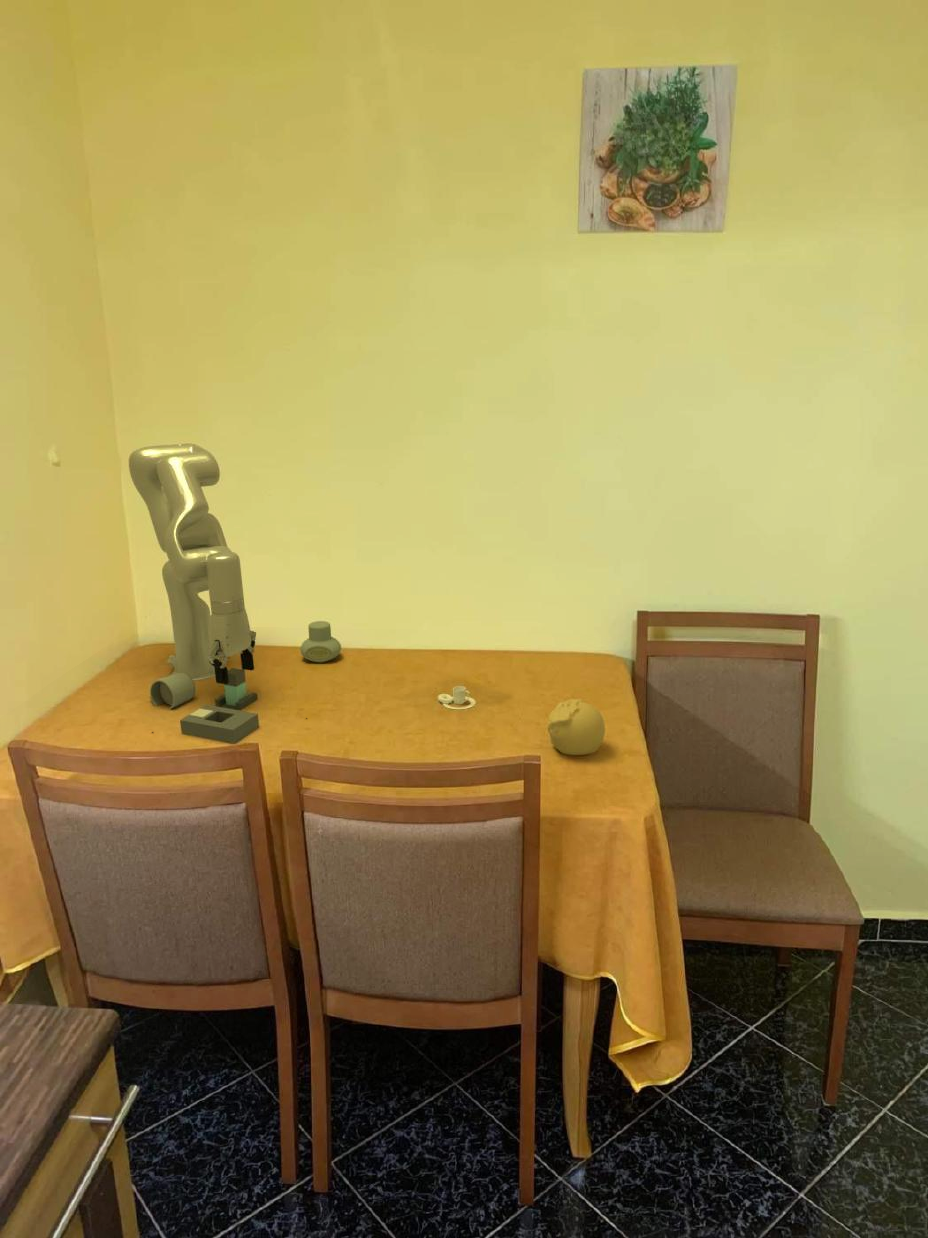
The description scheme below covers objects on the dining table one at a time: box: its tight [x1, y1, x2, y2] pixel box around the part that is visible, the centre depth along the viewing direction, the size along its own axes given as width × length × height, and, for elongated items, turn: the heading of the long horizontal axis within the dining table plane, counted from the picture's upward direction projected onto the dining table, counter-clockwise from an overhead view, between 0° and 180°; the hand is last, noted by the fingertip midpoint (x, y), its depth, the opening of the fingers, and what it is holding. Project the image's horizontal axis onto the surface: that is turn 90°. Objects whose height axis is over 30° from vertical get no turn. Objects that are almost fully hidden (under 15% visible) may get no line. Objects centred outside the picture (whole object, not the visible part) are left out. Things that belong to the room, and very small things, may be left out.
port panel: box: [179, 704, 260, 745], centre depth 191 cm, size 14×9×4 cm, turn 68°
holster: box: [214, 692, 259, 711], centre depth 206 cm, size 7×7×2 cm
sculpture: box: [547, 698, 606, 756], centre depth 181 cm, size 12×12×11 cm
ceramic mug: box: [149, 673, 196, 710], centre depth 207 cm, size 11×8×8 cm
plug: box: [223, 667, 248, 706], centre depth 205 cm, size 4×4×8 cm
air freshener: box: [300, 620, 342, 664], centre depth 235 cm, size 11×8×10 cm
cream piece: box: [437, 685, 477, 710], centre depth 207 cm, size 9×8×4 cm
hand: (235, 676), depth 203 cm, fingers open, 9 cm apart
